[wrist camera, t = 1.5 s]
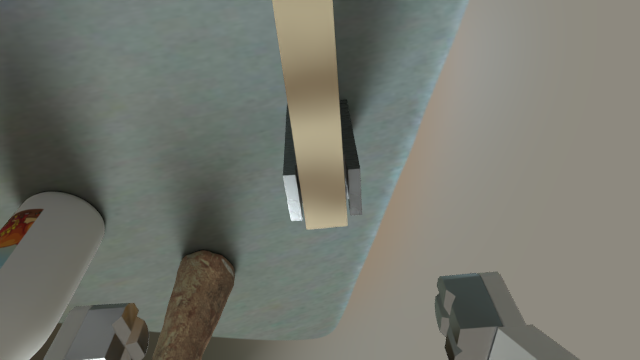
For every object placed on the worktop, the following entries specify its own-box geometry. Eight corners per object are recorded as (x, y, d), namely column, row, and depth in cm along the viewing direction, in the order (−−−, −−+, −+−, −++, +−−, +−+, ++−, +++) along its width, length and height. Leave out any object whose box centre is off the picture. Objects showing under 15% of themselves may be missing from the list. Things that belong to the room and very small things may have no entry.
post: (286, 105, 34) (283, 175, 27) (346, 99, 34) (360, 168, 27) (293, 145, 37) (291, 221, 29) (348, 140, 37) (361, 214, 29)
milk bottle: (89, 185, 39) (-57, 408, 23) (118, 243, 43) (13, 461, 28) (7, 191, 39) (-195, 417, 23) (45, 248, 44) (-102, 468, 28)
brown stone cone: (194, 237, 44) (176, 268, 48) (104, 406, 30) (86, 436, 33) (247, 262, 46) (225, 292, 49) (186, 437, 31) (160, 462, 34)
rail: (248, -198, 17) (240, -207, 15) (315, -205, 17) (318, -216, 15) (306, 203, 31) (306, 229, 28) (344, 199, 30) (347, 225, 28)
